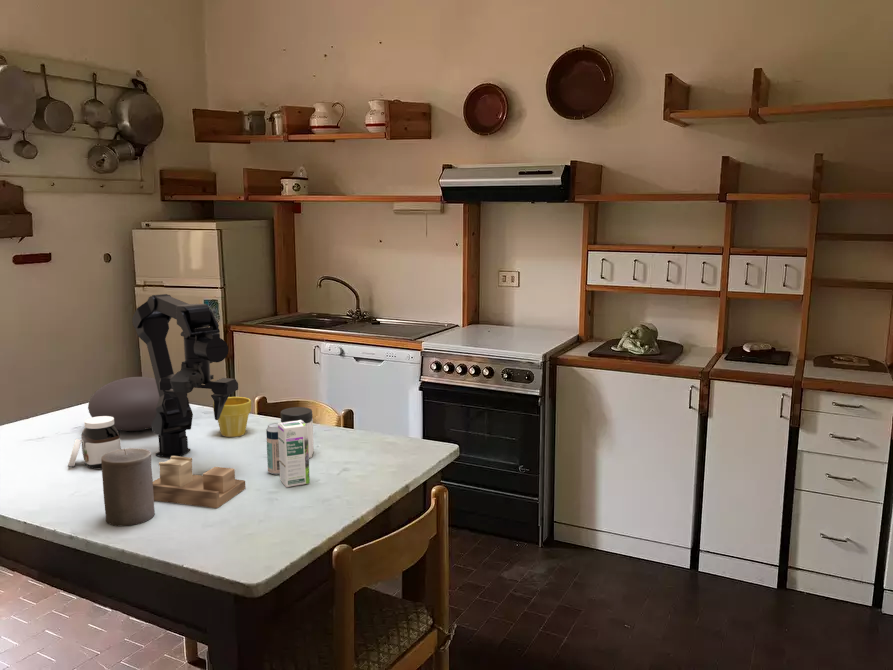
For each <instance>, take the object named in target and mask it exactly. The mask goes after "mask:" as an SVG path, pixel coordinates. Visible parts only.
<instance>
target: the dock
mask: <svg viewBox="0 0 893 670" xmlns="http://www.w3.org/2000/svg"><path fill="white" fill-rule="evenodd" d="M244 490H246V480H245V479H237V478H235V486H234V487H232V488H231V489H229V490H228V491H226V492H225V493H219V491H212V490H203V475H200V474H193V481H191V482H190V483H188V484H186V485H185V486H183V487H177V486H169V485H161V483H160V477H159V478H157V479H155V480H153V494H154V502H155V501H156V502H163V503H172V504H180V505H188V506H196V507H204V508H212V509H213V508H214V509H219V508H221V506H224V504H226V503H227V502H229V501H230V500H231V499H233V498H234V497H236V496H237V495H238V494H240V493H242V492H243V491H244Z"/></svg>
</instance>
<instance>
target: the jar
mask: <svg viewBox="0 0 893 670" xmlns="http://www.w3.org/2000/svg"><path fill="white" fill-rule="evenodd" d="M313 416H314V415H313V409H311V408H309V407H304V406H295V407H289V408H284V409H282V410H280V423H283V422H290V421H298V420H302V421H304V422H305V423H306V424H307V426H308V448H309V459H311V458H312V457H313V454H314V450H315V449H314V419H313Z"/></svg>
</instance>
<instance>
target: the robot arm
mask: <svg viewBox="0 0 893 670" xmlns="http://www.w3.org/2000/svg"><path fill="white" fill-rule="evenodd" d="M171 319H174V320H176V325H177V326H178V327H180V328H181V330H182V331H181V333H180V336H181V337H182V338H183V349H184V361H181V364H180V370H178V371H177V372H176V373H175V372H174V368H173V364H172V360H171V357H170V353H169V349H168V345H167V340H166V338H167V335H168V332H169V331H170V326H169V325H170V324H169V323H170V321H171ZM132 325H133V327H134V329H135V332H136V335H137V337H138V338H140V340H142V341H143V343H145V345H146V346H147V348H146V349H147V351H148V356H149V360H150V364H151V367H152V372H153V376H154V378H155V380H156V384H157V389H158V393H159V400H158V403H157V406H156V416H155V418H154V420H153V422H152V424H151V426H152V428H151V431H152V433H153V434H156V435H158V452H157V453H155V456H156V457H164V458H170V457H171V456H180V457H182V456H183V455H184V454H186V453H188V452H191V448H190V447H189V441H188V436H187V430H189V431H190V430H192V425H193V424H192V423H193V417H194V414H193V410H192V408H191V405H190V401H189V397H188V394H190V393H192V391H193V390H194V389H195V388H196V389H207V390H210V391H211V392H212V393H213V394H211V395H210V396H211V398H212V400H213V402H214V409H213V416H214V420H215V421H218V419H219V417H220V415H221V412H222V410H223V407H224V405H225V402H226V400H227V399H228V397H230V395H232V394H234V393H235V392H236V391H238V390H239V382H238V380H237V379H236V378H229V377H221V378H219V379H217V380H214V374H211V365H210V364H212V363H221V362H222V361H224V360H225V359H226V358H227V356H228V355H229V346H228V343H227V341H225V339H222V338H221V333H220V332H221V331H220V328H219V327H220V325H219V323H218V321H217V319H216V317H215V315H214V312H213V311H212V309H211V307H210V306H209V305H208V304H207V303H188V302H185V301H183V300H180V299H179V298H176V297H173V296H171V295H170V294H167V293H163V294H153V295H151V296H148V298H147V300H146V301H145V302H144V303H142V304H141V305H139V306H138V307H137V308H136V310H135V311H134V314H133V315H132ZM212 380H213V381H212Z"/></svg>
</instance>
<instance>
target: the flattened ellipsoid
mask: <svg viewBox="0 0 893 670" xmlns="http://www.w3.org/2000/svg"><path fill="white" fill-rule="evenodd" d="M158 400H159V393H158V389H157V384H156V380H155V377H149V376H131V377H125V378H120V379H117V380H113V381H110V382H109V383H107V384H105V385H102V386H101V387H100V388H98V389H97V390H96V391H94V393H93V394H92V396H91V397H90V399H89V400H88V404H87V409H88V413H89V415H90V417H91V418H92V417H98V416H111V417H113V418H114V426H115V427H116V428H117V430H118V431H120V432H121V431H122V432H137V431H139V432H140V431H143V430H148V429H152V426H151V424H152V422H153V420H154V418H155V416H156V406H157V403H158Z"/></svg>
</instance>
